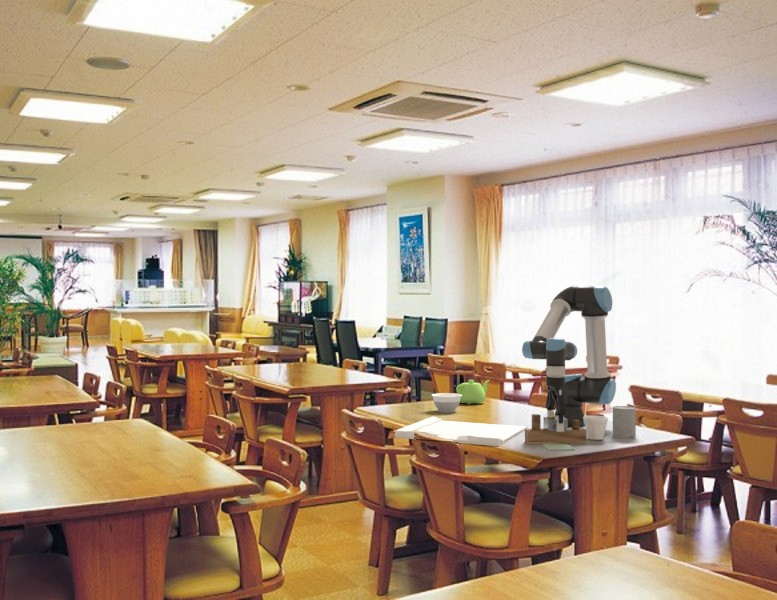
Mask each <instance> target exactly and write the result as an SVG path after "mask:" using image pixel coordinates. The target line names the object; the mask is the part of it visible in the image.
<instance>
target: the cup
mask: <svg viewBox="0 0 777 600" xmlns="http://www.w3.org/2000/svg"><path fill="white" fill-rule="evenodd" d="M583 420H584V424H585V426H584V427H585V428H584V429H586V438H587V440H590V441H602V440H604V437H605V433H606V429H607V426H608V425H607V424H608V422H609V421H608V420H609V417H608V416H605V415H585V416H584V417H583Z"/></svg>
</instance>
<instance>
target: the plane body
mask: <svg viewBox="0 0 777 600" xmlns="http://www.w3.org/2000/svg"><path fill="white" fill-rule="evenodd" d="M541 420H542V419H541V414H537V413H535V414H533V413H532V414H531V428H527V429H525V431H524V443H525V444H527V445H542V444H568V445H570V444H571V445H574V444H575V445H577V444H587V433H586V428H583V427H581V426H580V420H572V427H568V431H564V432H557V431H548V430H546V429H544V428H542V427H541V424H542V423H541Z"/></svg>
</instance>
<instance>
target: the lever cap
mask: <svg viewBox="0 0 777 600" xmlns="http://www.w3.org/2000/svg"><path fill="white" fill-rule="evenodd" d="M542 423H543V424H542V425H543V428H544V429H546V430H548V431H557V417H556V415H550V417H547V416H543V422H542ZM568 428H569V426H568V419H566V418H564V431H568Z"/></svg>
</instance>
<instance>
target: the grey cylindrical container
mask: <svg viewBox="0 0 777 600" xmlns="http://www.w3.org/2000/svg"><path fill="white" fill-rule="evenodd" d="M636 412H637V408H636V407H635V406H631V405H630V406H629V405H617V406H612V437H613V438H617V439H635V437H636V438H637V435H636V434H637V433H636V432H637V431H636V430H637V429H636V428H637V427H636V425H637V424H636V423H637V420H636V415H637V414H636Z"/></svg>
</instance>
